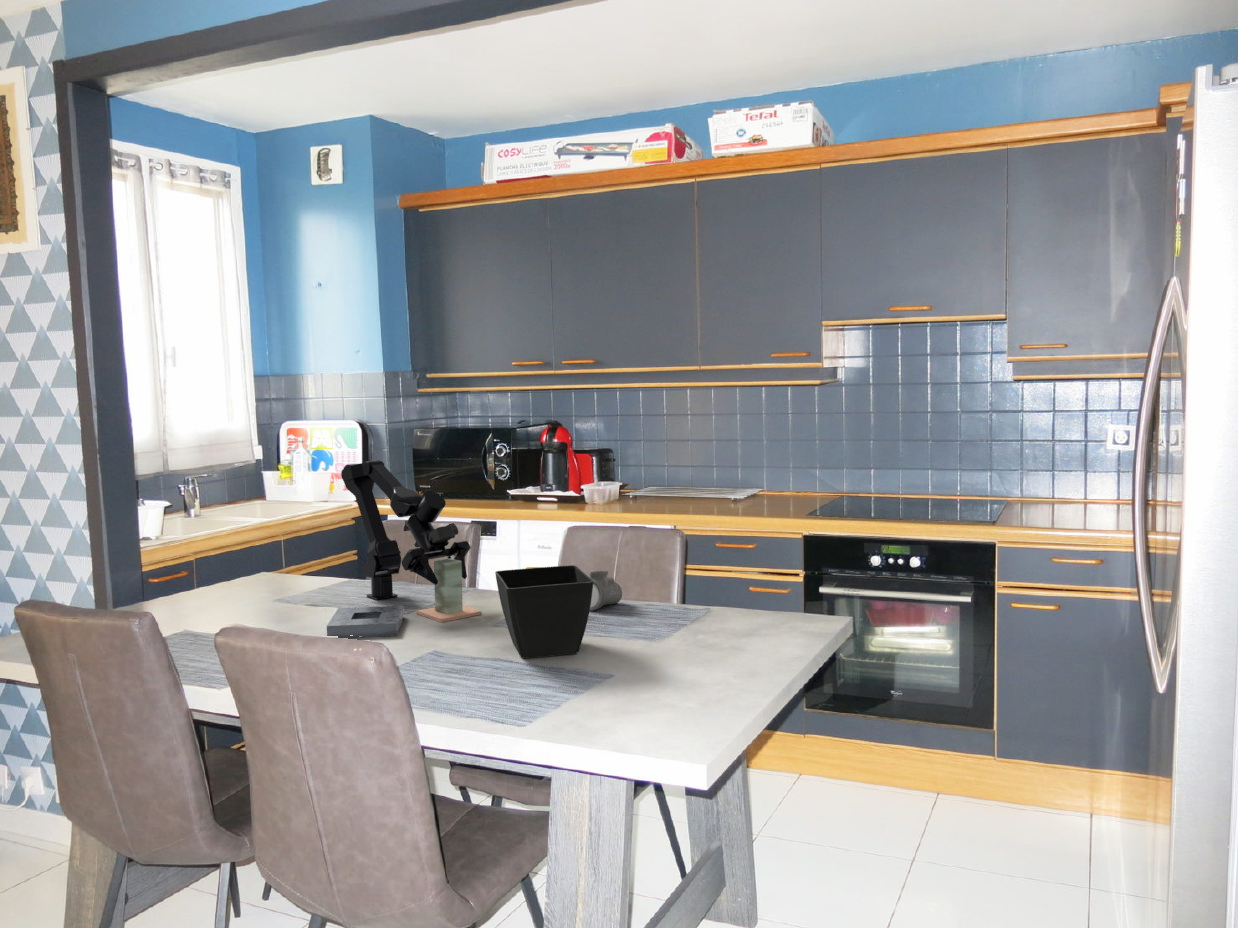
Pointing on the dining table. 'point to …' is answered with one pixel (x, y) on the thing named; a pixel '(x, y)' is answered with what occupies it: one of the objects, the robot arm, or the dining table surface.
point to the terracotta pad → (447, 617)
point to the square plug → (448, 586)
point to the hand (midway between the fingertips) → (451, 580)
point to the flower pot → (545, 608)
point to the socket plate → (366, 621)
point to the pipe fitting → (604, 590)
